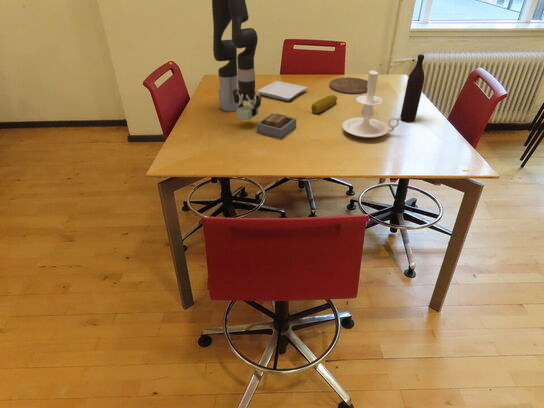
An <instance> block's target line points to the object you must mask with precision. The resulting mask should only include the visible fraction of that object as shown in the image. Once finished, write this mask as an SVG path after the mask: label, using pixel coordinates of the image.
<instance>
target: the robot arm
mask: <svg viewBox="0 0 544 408" xmlns="http://www.w3.org/2000/svg"><path fill="white" fill-rule="evenodd" d="M211 11H212V23H213V24H212V25H213V36H212V38H213V42H212V43H213V46H212V47H213V48H212V49H213V50H212V51H213V52H212V53H213V58H214V60H215V61H216V62H227V61H228V62H227V63H226V64H224V65H223V66H221V67H219V68H218V81H219V89H218V91H217V92H218V100H219V101H218V102H219V109H221V110H222V111H224V112H235V111H236V112H237V109H238V108H240V107H242V106H244V101H246V102H248V103H250V104H251V106H252V116H255V115H256V114H257V109H256V108H258V107H259V108H260V107H261V103H262V94H260V93H256V71H255V55H256V50H257V46H258V39H259V38H258V34H257V31H256V30H255V29H254V28H253V27H247V28H242V24H243V23H246V22H247V21H249V12H248V7H247V3H246V0H211ZM230 23H231V39H223V35H224V32H225V31H226V29H227V28H228V26H229V25H230ZM243 48H245V49H244V50H243V51H241V52H240V53H238V49H243ZM256 116H257V115H256ZM256 116H255V117H256Z"/></svg>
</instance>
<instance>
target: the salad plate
mask: <svg viewBox="0 0 544 408" xmlns="http://www.w3.org/2000/svg"><path fill="white" fill-rule="evenodd" d="M307 89H308V87H307V86H303V85H299V84H295V83H290V82H285V81H281V80H280V81H279V80H275V81H273V82H271V83H269V84H268V85H266V86H263V87H262V88H261V87H260V88H259V89H258V90H257V91H256V92H257V94H261V96H266V97H267V96H268V98H273V99H277V100H280V99H281V101H290V100H292V99H294V98H295V97H297V96H298V95H300V94H301V93H303V92H304V91H306V90H307Z"/></svg>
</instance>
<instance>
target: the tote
mask: <svg viewBox="0 0 544 408" xmlns="http://www.w3.org/2000/svg"><path fill="white" fill-rule="evenodd" d="M274 114H275V113H274V112H272V113H270V114H269V115H267V116H266V117H264V118H262V119H261V120H260V121H258V122H256V125H255V126H256V134H260V135H263V136H267V137H271V138H275V139H278V140H282V139H284V138H285V137H287V135H289V134H290V133H291V132H293V131H294V130H295V129H296V128H297V118H296V117H292V116H287V124H286V125H285V126H283V127H282V128H281V129H280V128H276V127H272V126H268V125H266V119H268V118H269V117H271V116H272V115H274Z"/></svg>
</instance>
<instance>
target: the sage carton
mask: <svg viewBox="0 0 544 408" xmlns="http://www.w3.org/2000/svg"><path fill="white" fill-rule="evenodd" d="M256 109H257V114H256V115H255V116H252V106H251V104H250V103H249V102H247V103H246V104H243V106H242V107H240V108H238V109H237V110H236V118H237V119H238V120H239V119H240V120H243V121H247V122H248V121H250V120H252V119H253V118H254V117H256V116H258V115H259V113H260V112H259V111H260V107H258V108H256Z"/></svg>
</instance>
